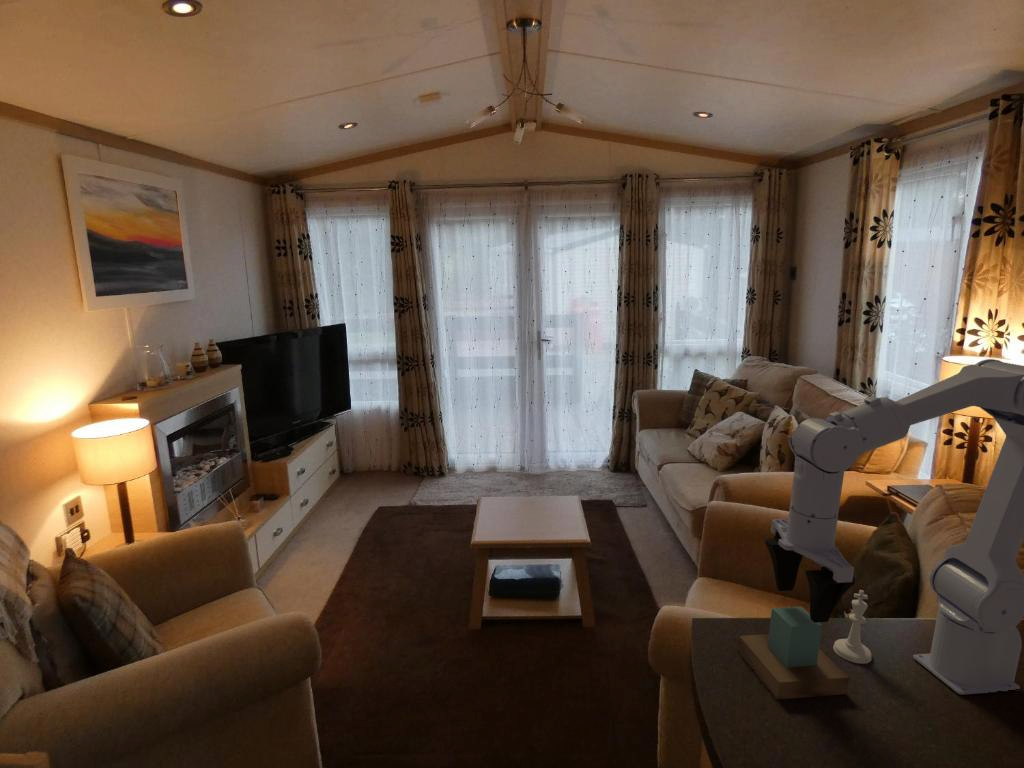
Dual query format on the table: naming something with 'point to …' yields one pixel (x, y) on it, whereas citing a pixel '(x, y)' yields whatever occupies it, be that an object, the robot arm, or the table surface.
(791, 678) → the walnut base
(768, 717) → the table surface
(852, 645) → the chess piece
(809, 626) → the teal block
